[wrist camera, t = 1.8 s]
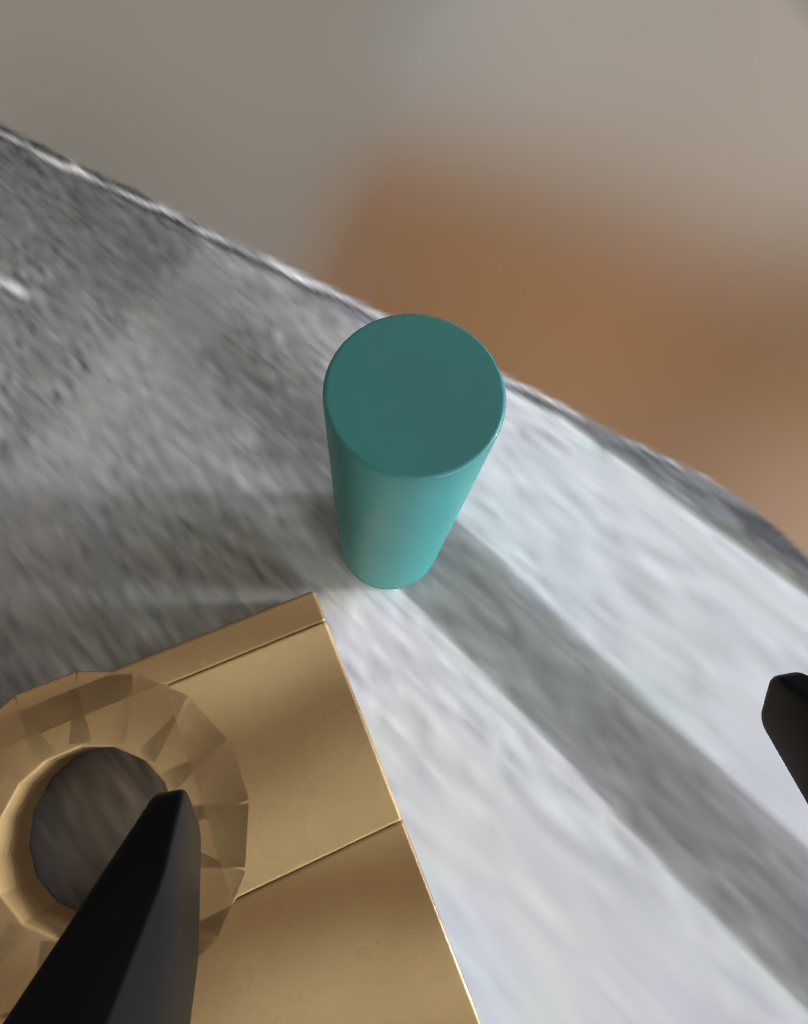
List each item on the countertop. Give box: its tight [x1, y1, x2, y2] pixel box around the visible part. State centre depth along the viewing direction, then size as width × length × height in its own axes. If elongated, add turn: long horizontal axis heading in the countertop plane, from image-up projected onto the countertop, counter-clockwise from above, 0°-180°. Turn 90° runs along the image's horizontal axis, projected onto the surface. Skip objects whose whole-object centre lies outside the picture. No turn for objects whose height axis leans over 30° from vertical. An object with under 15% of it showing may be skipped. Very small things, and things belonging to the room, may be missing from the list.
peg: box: [323, 314, 506, 589], centre depth 17 cm, size 3×3×11 cm
